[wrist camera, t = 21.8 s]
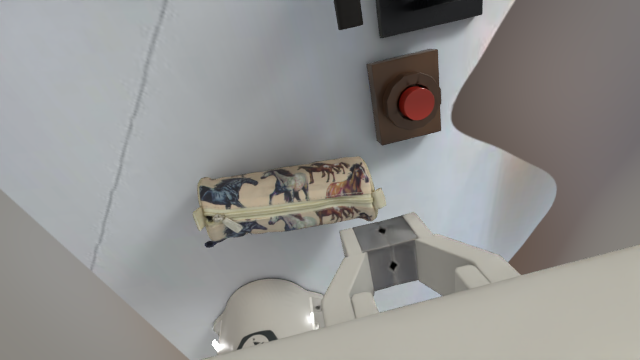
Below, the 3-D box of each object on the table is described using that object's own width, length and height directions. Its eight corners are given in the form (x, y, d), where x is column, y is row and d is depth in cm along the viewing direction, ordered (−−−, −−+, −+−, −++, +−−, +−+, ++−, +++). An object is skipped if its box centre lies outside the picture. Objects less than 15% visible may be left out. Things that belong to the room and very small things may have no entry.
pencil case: (216, 220, 43) (200, 266, 34) (201, 165, 40) (179, 200, 31) (366, 199, 45) (388, 237, 36) (365, 144, 41) (389, 171, 33)
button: (428, 113, 37) (435, 116, 35) (400, 120, 37) (405, 123, 35) (427, 83, 35) (434, 84, 34) (397, 90, 35) (402, 92, 34)
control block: (433, 126, 42) (448, 134, 38) (376, 140, 41) (386, 150, 38) (429, 48, 37) (445, 49, 34) (366, 63, 37) (376, 66, 34)
